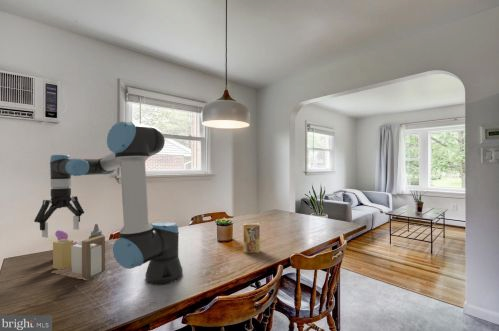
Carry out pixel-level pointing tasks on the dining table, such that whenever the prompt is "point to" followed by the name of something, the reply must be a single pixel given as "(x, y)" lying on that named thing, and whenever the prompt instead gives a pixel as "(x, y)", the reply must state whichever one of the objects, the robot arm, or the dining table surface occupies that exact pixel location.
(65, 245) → the stub
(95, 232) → the squeeze bottle
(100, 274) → the mat
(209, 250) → the dining table surface
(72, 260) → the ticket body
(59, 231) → the pink scoop
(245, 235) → the candy box
